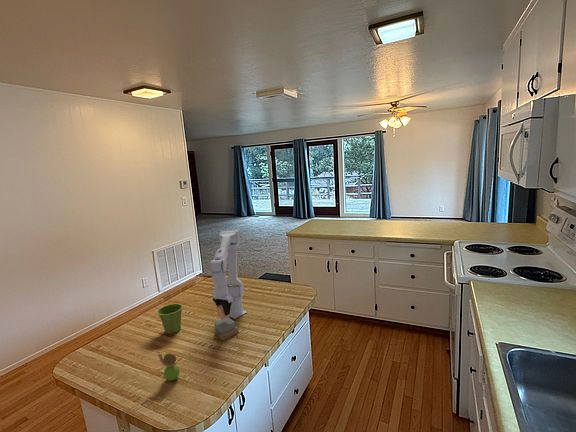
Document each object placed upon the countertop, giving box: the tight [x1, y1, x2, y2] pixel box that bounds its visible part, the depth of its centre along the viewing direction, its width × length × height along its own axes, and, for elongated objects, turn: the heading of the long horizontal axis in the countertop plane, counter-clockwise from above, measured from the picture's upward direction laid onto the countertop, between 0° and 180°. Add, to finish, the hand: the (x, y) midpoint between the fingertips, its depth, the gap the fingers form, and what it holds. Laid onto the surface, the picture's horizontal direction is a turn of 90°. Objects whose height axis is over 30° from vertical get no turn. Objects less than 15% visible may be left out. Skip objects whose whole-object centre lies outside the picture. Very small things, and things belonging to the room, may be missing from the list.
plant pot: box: [156, 303, 184, 335], centre depth 149 cm, size 12×12×11 cm
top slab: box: [213, 317, 237, 334], centre depth 142 cm, size 7×7×3 cm
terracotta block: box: [216, 305, 232, 320], centre depth 141 cm, size 4×4×5 cm
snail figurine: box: [157, 350, 180, 382], centre depth 113 cm, size 5×6×12 cm
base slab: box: [213, 326, 239, 341], centre depth 142 cm, size 8×8×3 cm
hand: (224, 313), depth 141 cm, fingers closed on terracotta block, 4 cm apart
